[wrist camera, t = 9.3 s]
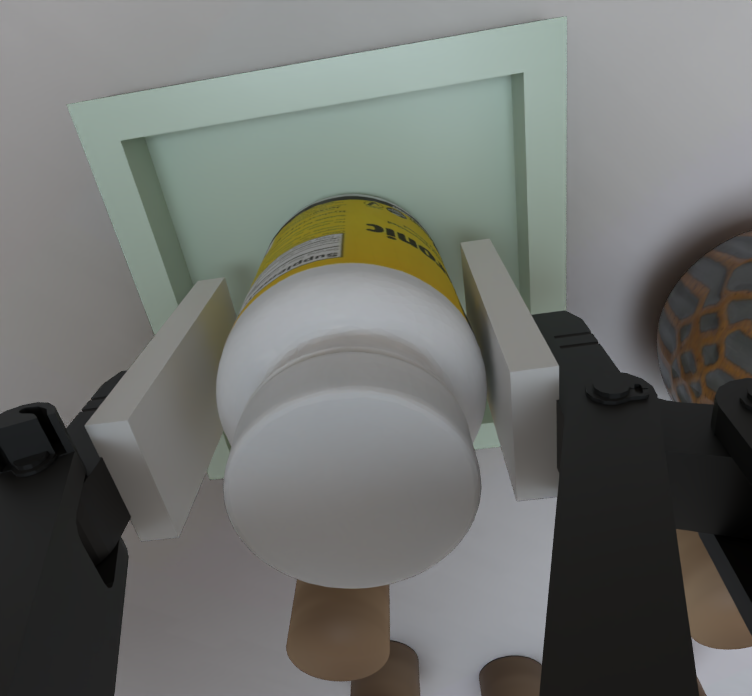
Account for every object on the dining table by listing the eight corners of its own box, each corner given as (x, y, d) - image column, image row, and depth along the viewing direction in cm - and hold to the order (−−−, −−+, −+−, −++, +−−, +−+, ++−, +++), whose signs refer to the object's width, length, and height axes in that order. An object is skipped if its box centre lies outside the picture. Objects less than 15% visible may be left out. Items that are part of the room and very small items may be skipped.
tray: (225, 442, 21) (209, 479, 19) (103, 97, 16) (66, 104, 14) (549, 403, 20) (565, 439, 18) (543, 19, 15) (566, 16, 13)
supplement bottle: (472, 305, 18) (580, 545, 9) (326, 382, 19) (302, 660, 10) (386, 150, 16) (424, 275, 7) (228, 248, 17) (90, 459, 8)
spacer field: (364, 707, 29) (360, 853, 24) (301, 483, 22) (275, 621, 17) (668, 683, 28) (734, 832, 23) (703, 438, 21) (812, 572, 16)
